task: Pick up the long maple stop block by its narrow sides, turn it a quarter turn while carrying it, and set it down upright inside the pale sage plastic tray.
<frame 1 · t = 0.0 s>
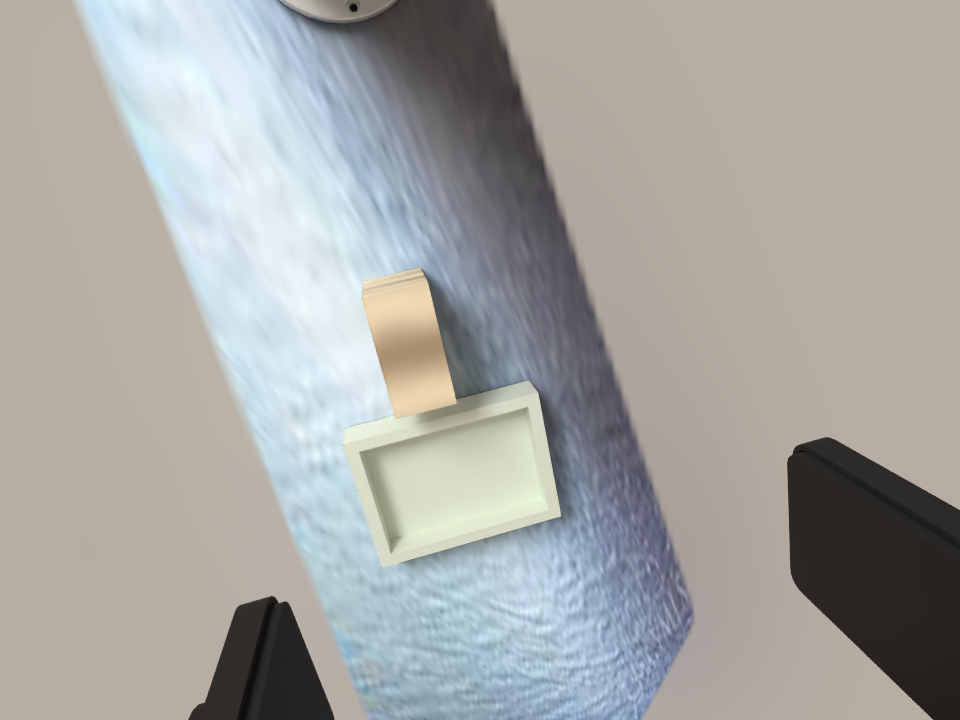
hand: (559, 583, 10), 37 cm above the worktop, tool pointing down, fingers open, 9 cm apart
stop block: (406, 328, 46), on the worktop
tray: (453, 465, 50), on the worktop
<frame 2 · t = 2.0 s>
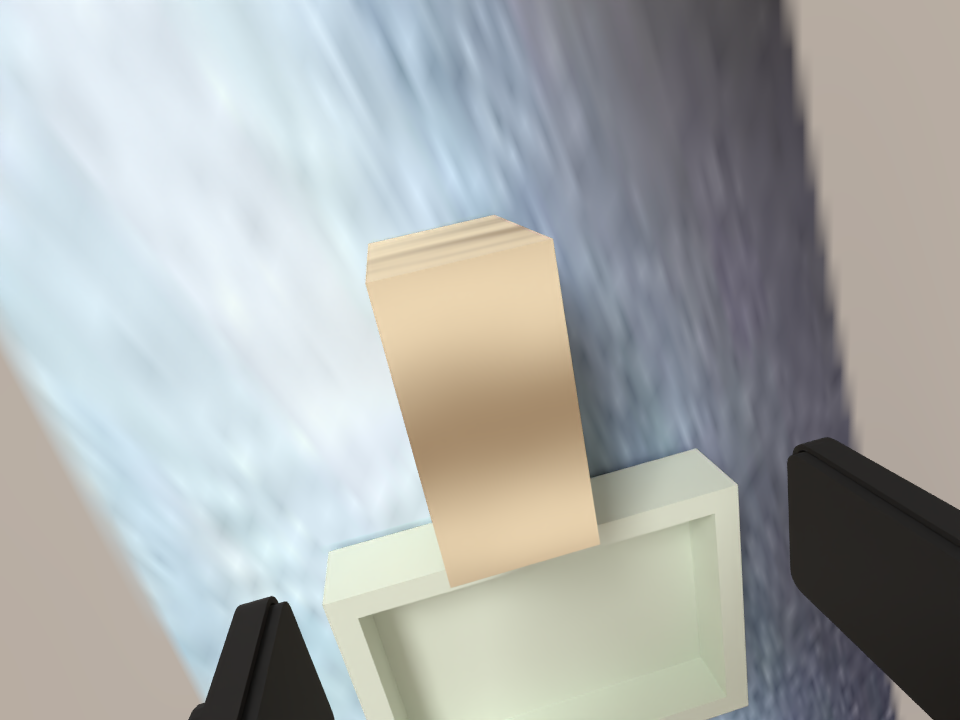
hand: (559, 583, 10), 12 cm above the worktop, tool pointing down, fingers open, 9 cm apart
stop block: (459, 348, 21), on the worktop
tray: (541, 608, 26), on the worktop
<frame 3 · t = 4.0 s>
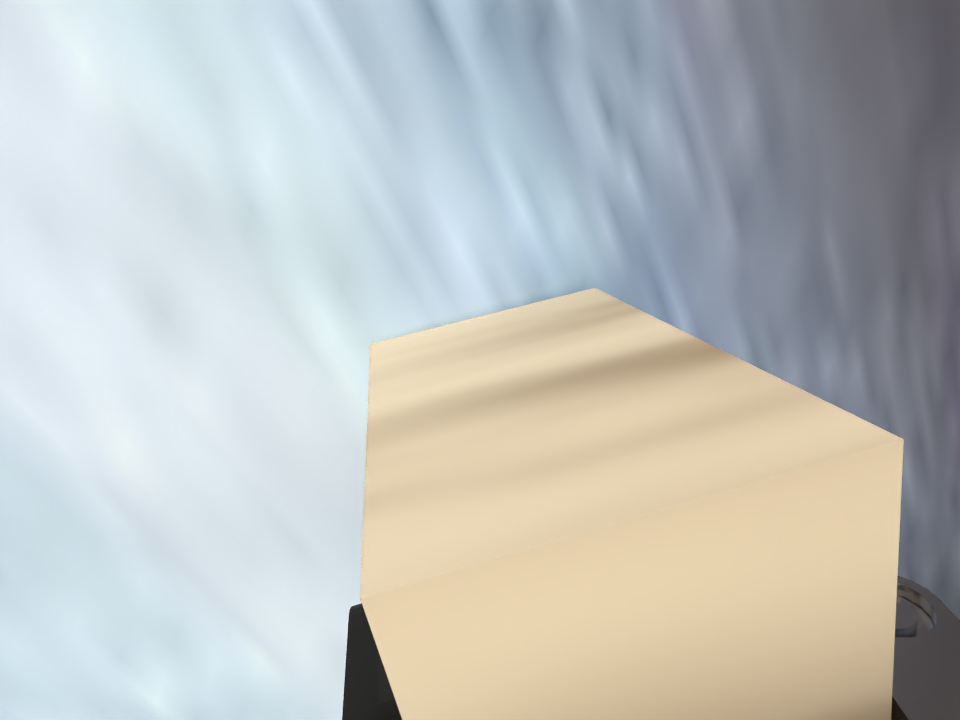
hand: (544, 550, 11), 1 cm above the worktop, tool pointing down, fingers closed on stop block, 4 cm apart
stop block: (526, 509, 12), on the worktop, touching gripper
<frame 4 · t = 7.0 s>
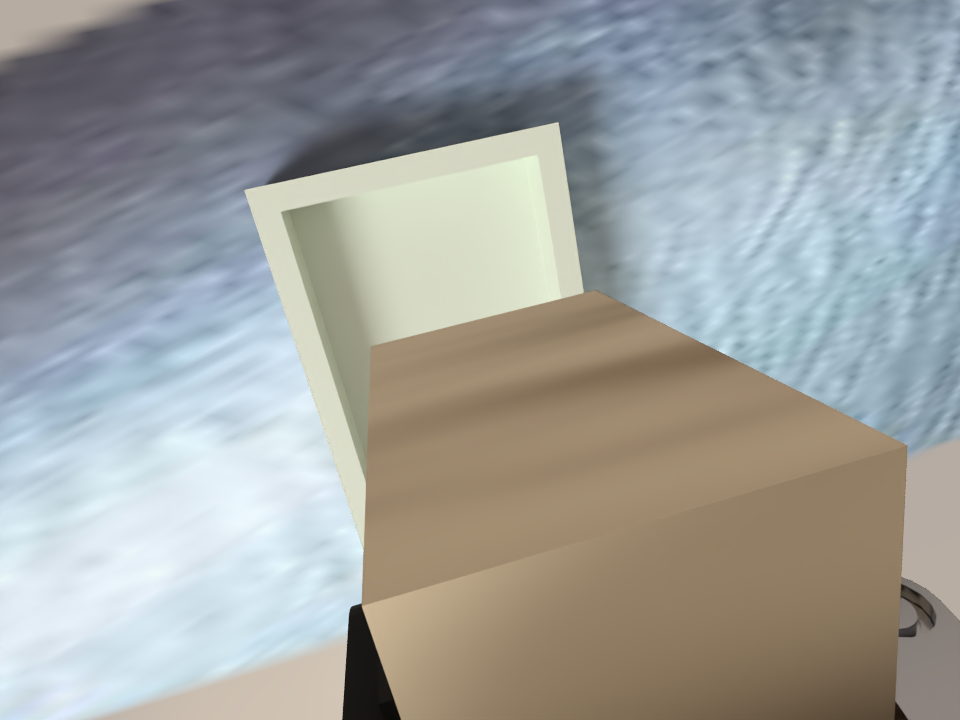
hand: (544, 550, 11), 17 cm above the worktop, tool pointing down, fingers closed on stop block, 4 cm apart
stop block: (526, 512, 12), point 15 cm above the worktop, touching gripper
tray: (444, 335, 27), on the worktop
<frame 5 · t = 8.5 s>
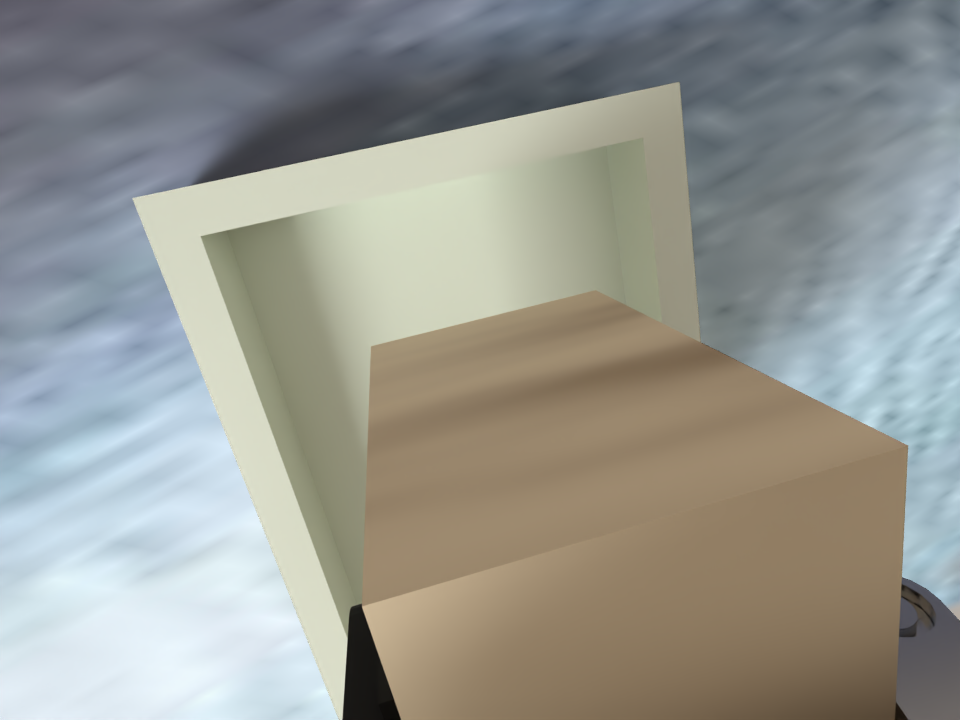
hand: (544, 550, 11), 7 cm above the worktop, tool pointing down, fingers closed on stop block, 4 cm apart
stop block: (526, 512, 12), point 6 cm above the worktop, touching gripper
tray: (473, 415, 18), on the worktop
when the fingers open (4 cm above the worktop, at t = 10.0 s): stop block drops 1 cm, resting on tray.
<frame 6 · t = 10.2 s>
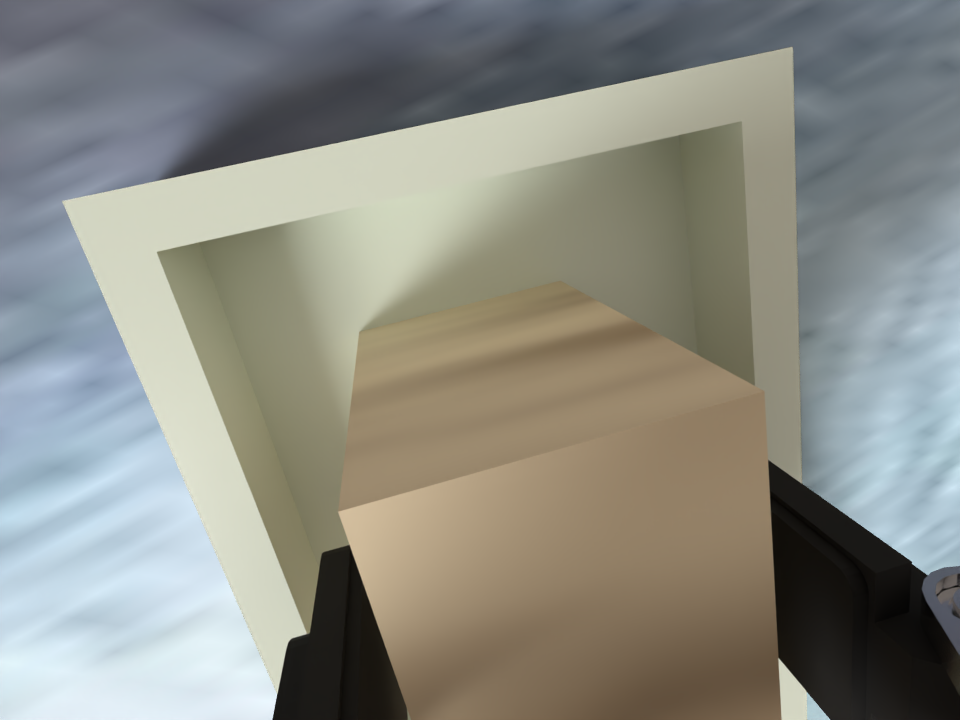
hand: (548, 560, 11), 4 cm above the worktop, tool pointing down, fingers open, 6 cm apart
stop block: (502, 482, 14), point 1 cm above the worktop, touching tray
tray: (505, 463, 15), on the worktop
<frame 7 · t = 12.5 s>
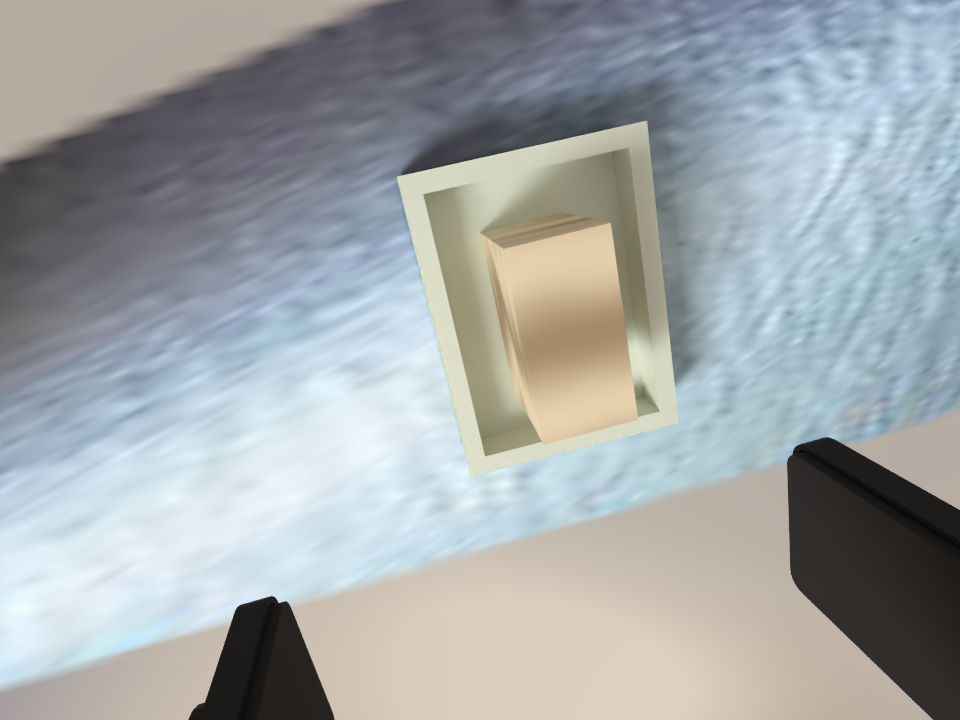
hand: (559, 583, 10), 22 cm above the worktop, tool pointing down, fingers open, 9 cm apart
stop block: (537, 305, 31), point 1 cm above the worktop, touching tray
tray: (538, 300, 32), on the worktop
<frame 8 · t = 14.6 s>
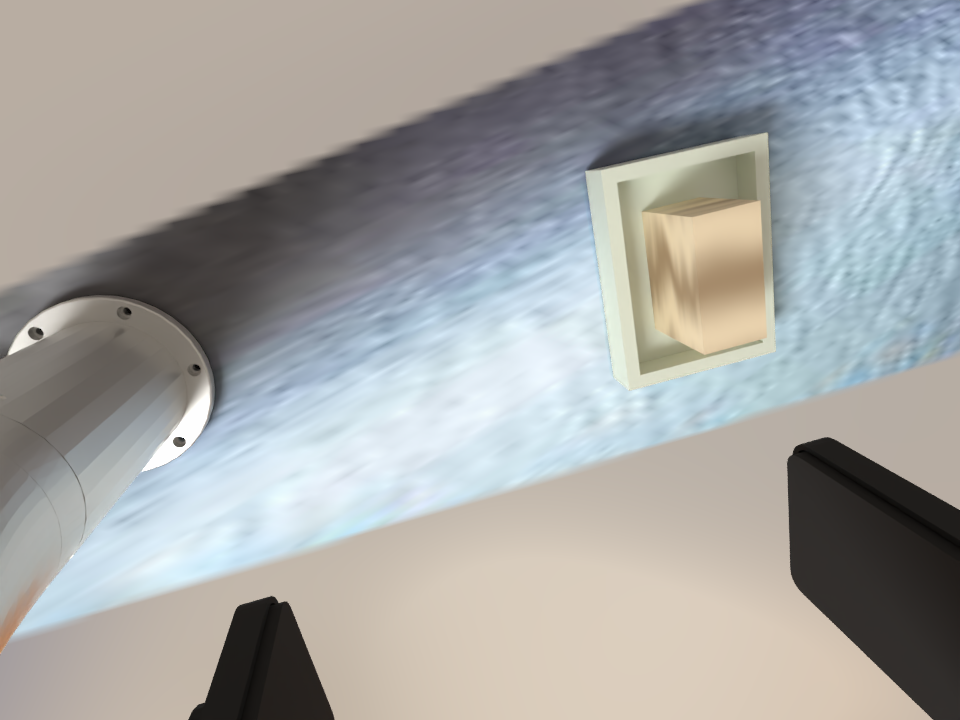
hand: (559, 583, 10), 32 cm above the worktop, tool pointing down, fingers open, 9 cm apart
stop block: (676, 265, 43), point 1 cm above the worktop, touching tray
tray: (674, 262, 43), on the worktop
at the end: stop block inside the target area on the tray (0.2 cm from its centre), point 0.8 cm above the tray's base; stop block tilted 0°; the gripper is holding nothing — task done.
